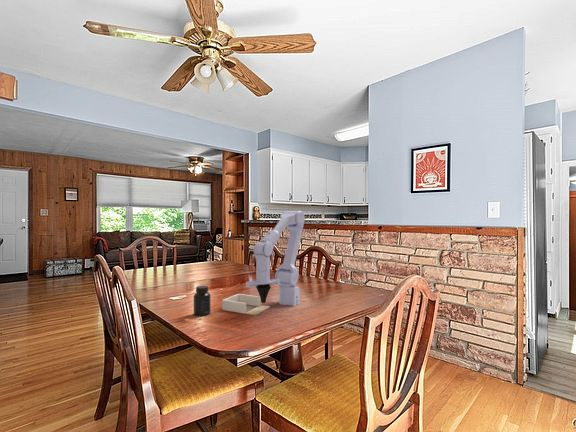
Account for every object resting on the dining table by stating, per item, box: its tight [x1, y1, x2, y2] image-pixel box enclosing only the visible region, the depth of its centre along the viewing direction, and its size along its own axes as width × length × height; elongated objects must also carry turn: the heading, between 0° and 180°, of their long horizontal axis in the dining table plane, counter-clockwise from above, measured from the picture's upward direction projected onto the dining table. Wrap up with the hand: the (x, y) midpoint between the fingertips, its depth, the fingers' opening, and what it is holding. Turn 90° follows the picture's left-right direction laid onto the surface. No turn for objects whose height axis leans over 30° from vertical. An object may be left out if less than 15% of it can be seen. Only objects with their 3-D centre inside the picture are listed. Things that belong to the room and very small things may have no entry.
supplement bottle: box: [193, 285, 212, 317], centre depth 129 cm, size 7×7×12 cm
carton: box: [221, 293, 262, 314], centre depth 137 cm, size 12×12×5 cm
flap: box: [246, 305, 270, 316], centre depth 133 cm, size 1×12×4 cm
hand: (263, 302), depth 132 cm, fingers closed
